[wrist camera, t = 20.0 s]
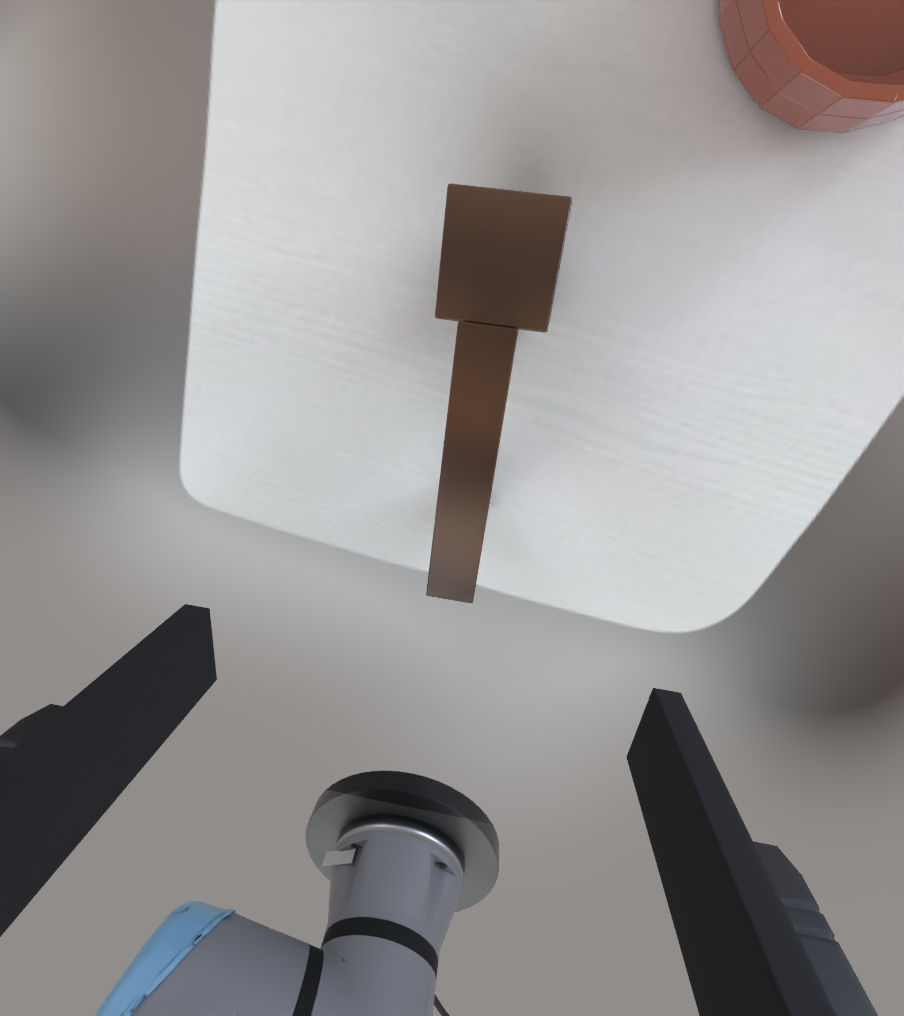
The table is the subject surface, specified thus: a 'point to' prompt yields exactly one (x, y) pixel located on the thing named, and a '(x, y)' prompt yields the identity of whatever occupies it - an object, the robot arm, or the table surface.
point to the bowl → (819, 59)
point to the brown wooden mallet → (486, 352)
